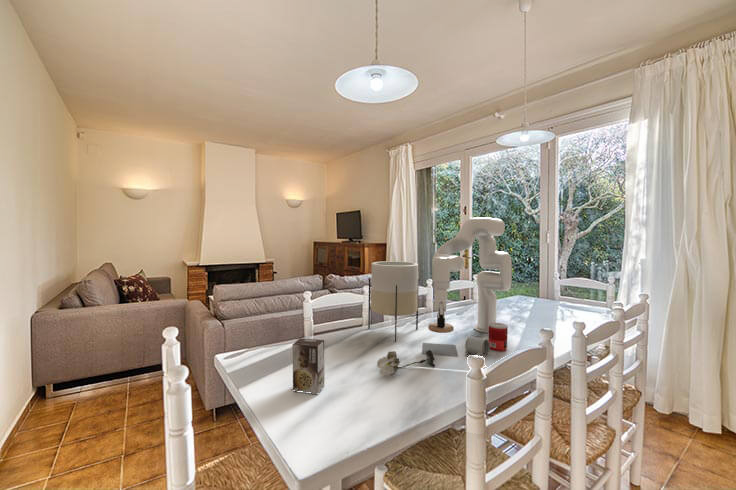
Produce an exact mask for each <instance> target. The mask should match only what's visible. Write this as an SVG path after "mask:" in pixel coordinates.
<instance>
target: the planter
mask: <svg viewBox="0 0 736 490" xmlns="http://www.w3.org/2000/svg"><path fill="white" fill-rule="evenodd" d="M419 281H420V279H419V263H417V262H411V261H397V260H394V261H392V260H391V261H387V260H386V261H383V260H382V261H375V262H371V278H370V277H369V278H368V316H367V317H368V320H367V323H368V325H367V326H368V327H367V329H368V330H370V329H371V311H372V312H373V313H374V314H378V315H382V316H390V317H391V316H392V317H394V321H395V322H394V342H395V343H397V323H398V322H397V318H398V317H402V316H404V317H405V316H410V315H413V314H416V315H415V317H416V318H415V322H416V323H415V330H416V331H417V330H418V328H419V327H418V326H419V325H418V323H419Z"/></svg>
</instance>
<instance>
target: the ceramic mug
mask: <svg viewBox="0 0 736 490" xmlns="http://www.w3.org/2000/svg"><path fill="white" fill-rule="evenodd" d="M464 348H465V351H464V354H465V357H467V356H469V355H468V354H471V355H473V356H474V355H480V356H483V357H484V355H485V356H488V355H489V353H490V349H489V348H490V345H489V341H488V338H482V337H475V336H470V337H468V338H467V339H466V341H465V347H464ZM480 356H479V357H480Z"/></svg>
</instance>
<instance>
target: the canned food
mask: <svg viewBox="0 0 736 490" xmlns="http://www.w3.org/2000/svg"><path fill="white" fill-rule="evenodd" d="M508 329H509V328H508V325H507V324H506V323H503V322H496V323H490V324H489V333H488V337H487V340H488V341H489V345H490V348H489V350H491V351H493V352H499V353H501V352H506V351H507V349H508V334H509V333H508V331H509V330H508Z"/></svg>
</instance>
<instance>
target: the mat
mask: <svg viewBox="0 0 736 490" xmlns="http://www.w3.org/2000/svg"><path fill="white" fill-rule="evenodd" d="M421 345H422V347H421V350H422V351H421V355H423V356H425V355H426V356H427V354H426V351H428V350H431V352H432V354H433V356H439V357H440V356H441V357H454V358H458V357H459V354H458V350H457V345H456V344H443V343H434V342H433V343H432V342H430V343H429V342H422V344H421Z"/></svg>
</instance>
